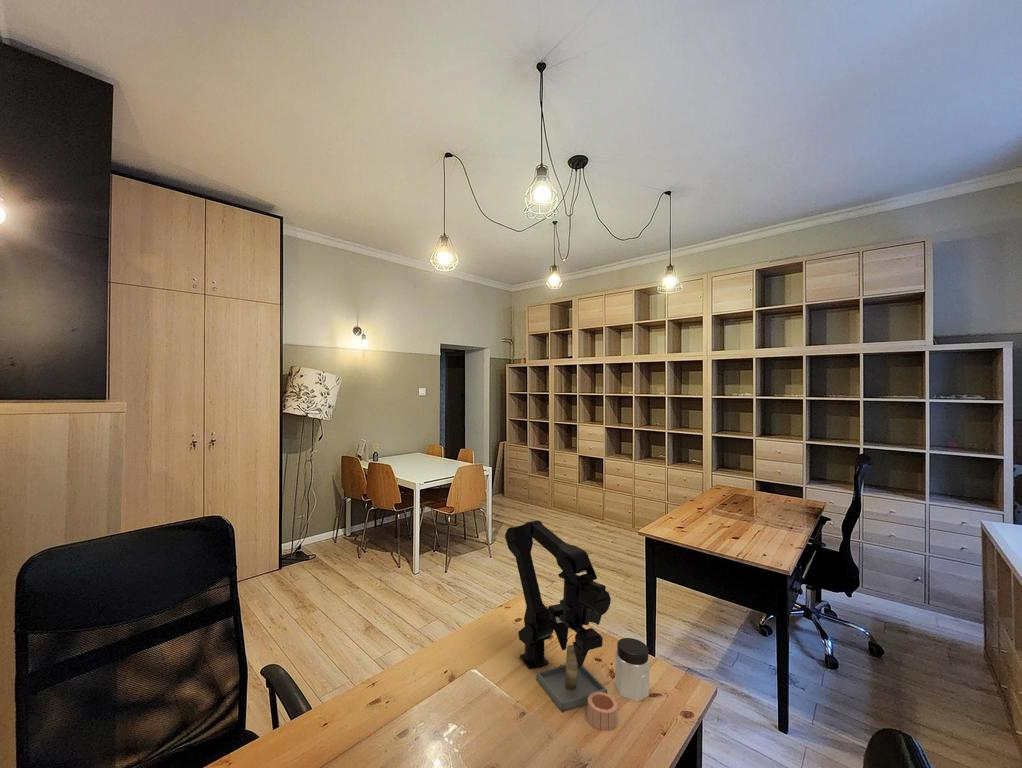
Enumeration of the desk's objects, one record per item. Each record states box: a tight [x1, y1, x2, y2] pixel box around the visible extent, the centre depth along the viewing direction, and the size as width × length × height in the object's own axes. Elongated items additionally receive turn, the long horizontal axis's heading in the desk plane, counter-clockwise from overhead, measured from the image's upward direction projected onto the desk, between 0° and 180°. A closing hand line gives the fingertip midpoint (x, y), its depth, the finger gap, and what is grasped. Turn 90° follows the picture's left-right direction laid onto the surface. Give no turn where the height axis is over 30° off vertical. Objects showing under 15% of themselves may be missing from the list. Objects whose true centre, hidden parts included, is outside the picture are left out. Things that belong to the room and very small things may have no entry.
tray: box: [535, 663, 608, 713], centre depth 110 cm, size 13×14×2 cm
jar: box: [614, 637, 651, 703], centre depth 110 cm, size 9×8×12 cm
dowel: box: [565, 644, 577, 690], centre depth 110 cm, size 3×3×10 cm
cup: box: [586, 692, 619, 731], centre depth 99 cm, size 7×7×4 cm
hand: (571, 657), depth 110 cm, fingers open, 7 cm apart
